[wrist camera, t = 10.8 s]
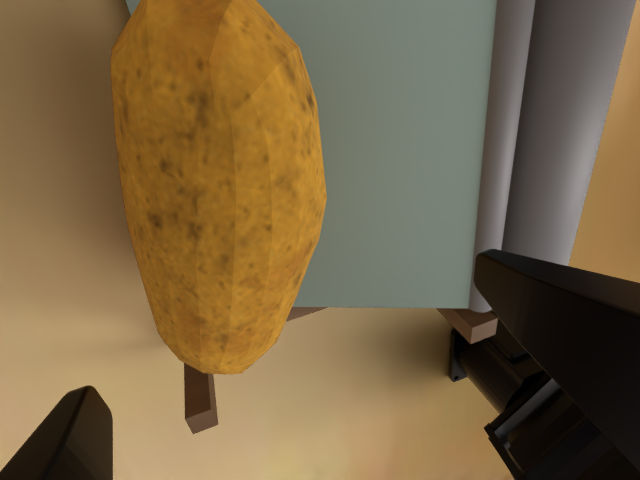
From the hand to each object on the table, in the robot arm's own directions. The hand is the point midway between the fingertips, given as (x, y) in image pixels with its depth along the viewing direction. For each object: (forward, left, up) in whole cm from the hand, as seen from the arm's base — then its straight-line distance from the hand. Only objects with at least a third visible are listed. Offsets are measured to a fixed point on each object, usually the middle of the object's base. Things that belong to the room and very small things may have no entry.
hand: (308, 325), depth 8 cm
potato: (0, -1, -11) cm, 11 cm away
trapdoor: (0, -7, -11) cm, 13 cm away
